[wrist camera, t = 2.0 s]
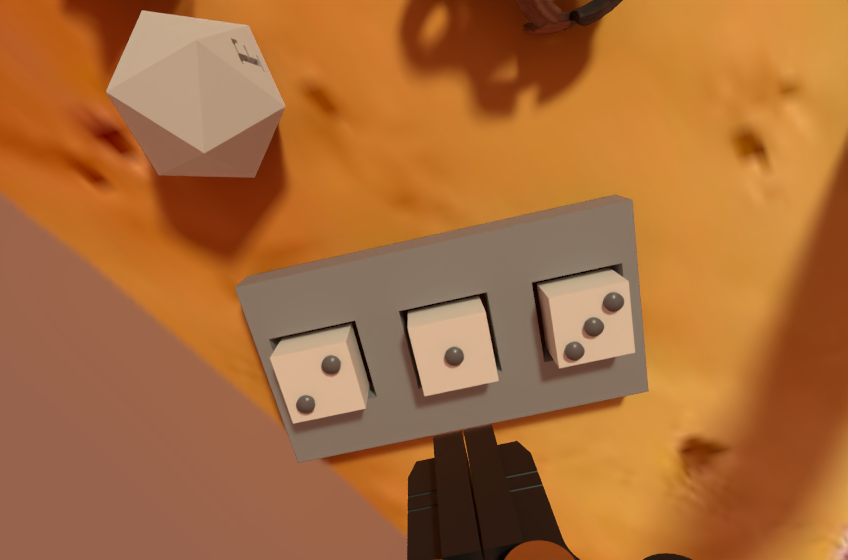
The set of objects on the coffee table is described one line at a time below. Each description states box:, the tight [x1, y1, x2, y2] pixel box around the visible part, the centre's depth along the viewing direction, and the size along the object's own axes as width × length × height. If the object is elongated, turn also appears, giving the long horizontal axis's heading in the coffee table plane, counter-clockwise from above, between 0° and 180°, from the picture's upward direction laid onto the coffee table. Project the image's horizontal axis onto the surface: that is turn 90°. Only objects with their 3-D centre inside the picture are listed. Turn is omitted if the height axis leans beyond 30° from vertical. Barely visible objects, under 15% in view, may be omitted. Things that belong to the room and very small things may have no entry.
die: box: [106, 10, 286, 178], centre depth 26 cm, size 8×9×10 cm
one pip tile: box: [408, 296, 499, 396], centre depth 32 cm, size 5×5×3 cm
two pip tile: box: [270, 323, 370, 424], centre depth 32 cm, size 5×5×3 cm
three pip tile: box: [536, 268, 635, 368], centre depth 31 cm, size 5×5×3 cm
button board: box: [235, 195, 648, 463], centre depth 33 cm, size 26×14×2 cm, turn 102°
